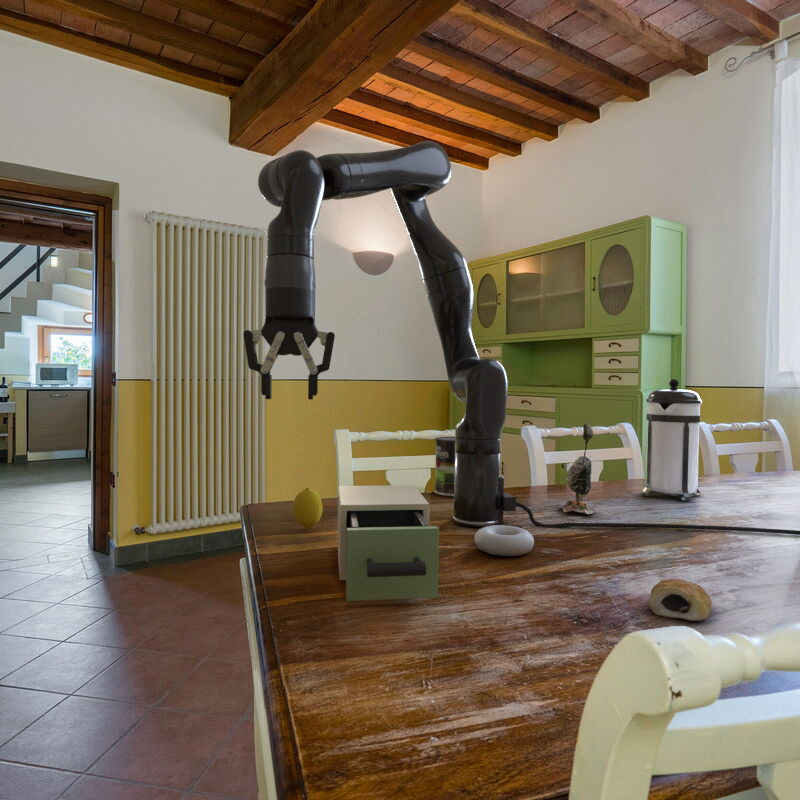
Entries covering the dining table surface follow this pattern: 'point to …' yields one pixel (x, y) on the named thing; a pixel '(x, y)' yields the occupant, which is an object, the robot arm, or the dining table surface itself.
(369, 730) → the dining table surface
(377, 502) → the small bedside cabinet
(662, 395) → the coffee press
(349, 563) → the drawer
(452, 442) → the coffee can
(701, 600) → the pastry
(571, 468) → the stone sculpture
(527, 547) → the donut
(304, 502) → the lemon
